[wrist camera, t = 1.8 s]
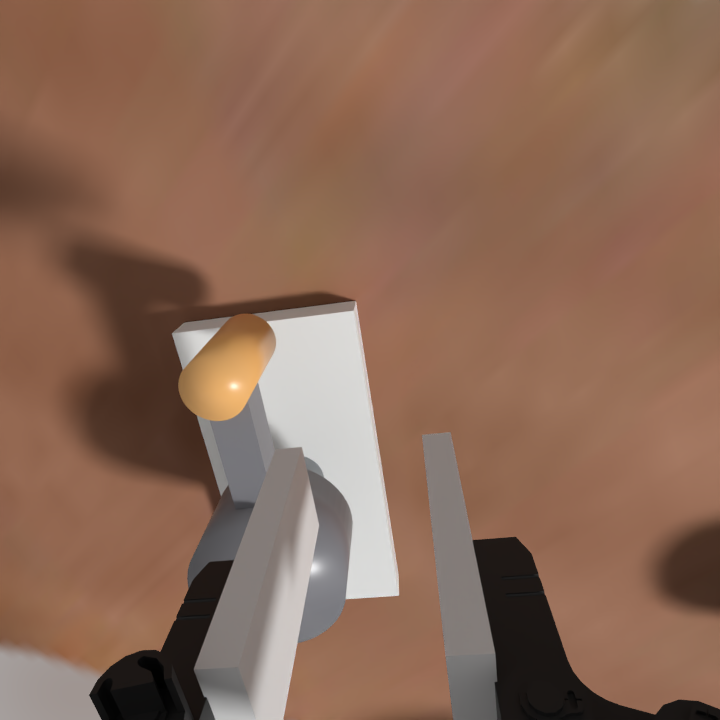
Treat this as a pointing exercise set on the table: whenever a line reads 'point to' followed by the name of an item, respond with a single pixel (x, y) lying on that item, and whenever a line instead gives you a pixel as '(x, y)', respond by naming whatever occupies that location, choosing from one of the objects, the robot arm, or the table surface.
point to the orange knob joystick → (259, 464)
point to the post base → (321, 423)
